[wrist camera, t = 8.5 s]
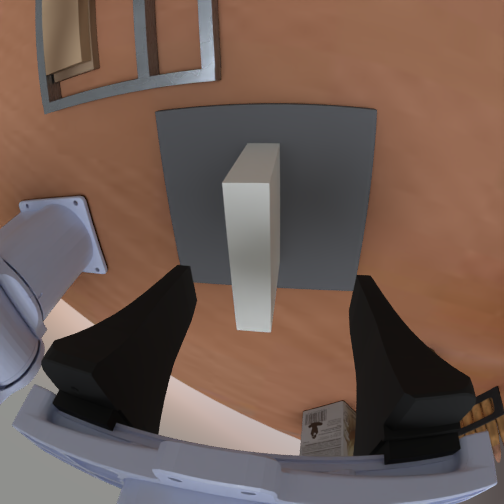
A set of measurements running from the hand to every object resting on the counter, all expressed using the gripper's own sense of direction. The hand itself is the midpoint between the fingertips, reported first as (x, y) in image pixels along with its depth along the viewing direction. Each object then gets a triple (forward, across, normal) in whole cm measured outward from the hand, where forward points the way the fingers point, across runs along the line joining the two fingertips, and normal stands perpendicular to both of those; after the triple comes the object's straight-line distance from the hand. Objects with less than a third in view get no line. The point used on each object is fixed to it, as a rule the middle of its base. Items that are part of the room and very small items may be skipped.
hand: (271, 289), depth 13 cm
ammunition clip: (+10, -30, +30) cm, 44 cm away
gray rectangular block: (+9, +1, 0) cm, 9 cm away
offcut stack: (+10, +15, -16) cm, 24 cm away
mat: (+10, +1, 0) cm, 10 cm away
